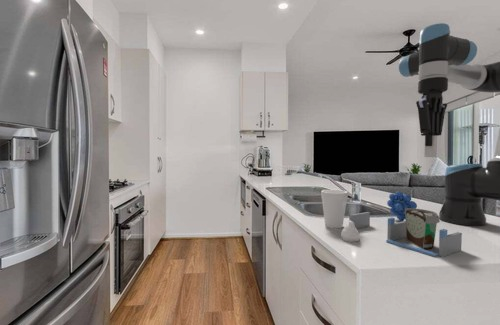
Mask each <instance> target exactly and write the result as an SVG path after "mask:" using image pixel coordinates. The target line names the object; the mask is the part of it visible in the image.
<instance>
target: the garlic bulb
mask: <svg viewBox="0 0 500 325" xmlns="http://www.w3.org/2000/svg"><path fill="white" fill-rule="evenodd" d="M340 236H341V238H342V240H343V241H345V240H346V241H345V242H350V243H351V242H352V243H354V242H358V241H360V233H359V230H358V228H356V227H355V225H354V222H352V221H349V220H348V223H347V224H345V226H344V227H343V229H342V230H341V233H340Z"/></svg>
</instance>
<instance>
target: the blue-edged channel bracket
mask: <svg viewBox="0 0 500 325" xmlns="http://www.w3.org/2000/svg"><path fill="white" fill-rule="evenodd" d="M370 220H371V212H370V211H365V212H360V213H353V214H349V220H348V222H349V221H352V222H354V225H355V227H356V229H360V228H364V227H370V223H371V222H370ZM438 236H439V237H438V238H439V240H438V253H436V252H433V251H430V250H424V249H421V248H419V247H417V246H415V245H414V246H413V245H409V244H407V243H403V242H399V241H398V240H400V239H404V238H406V220H403V221H399V222H398V221H397V222H396V219H395V217H387V237H386V240H385V241H386V243H389V244H391V245H395V246H398V247H401V248H402V247H403V248H405V249H408V250H411V251H414V252H417V253H421V254H424V255H427V256H431V257H434V258H437V257H442V258H443V257H446V256H449V255H452V254H455V253H458V252H461V251H462V243H463V242H462V241H463V240H462V239H463V237H462V236H463V233H462V232H459V231H456V232H452V233H450V234H448V229H445V228H442V229H441V228H440V229H439V235H438ZM396 240H397V241H396Z"/></svg>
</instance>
